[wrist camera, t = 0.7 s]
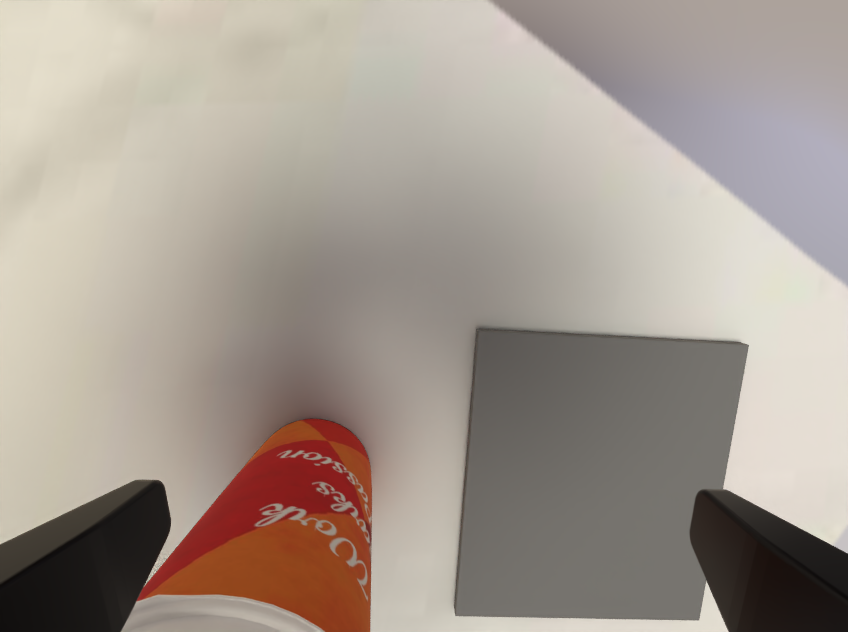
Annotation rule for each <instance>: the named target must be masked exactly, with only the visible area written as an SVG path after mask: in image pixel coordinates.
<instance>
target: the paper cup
mask: <svg viewBox="0 0 848 632" xmlns="http://www.w3.org/2000/svg"><path fill="white" fill-rule="evenodd" d="M371 528H372V485H371V468H370V462H369V458H368V455H367V452H366V450H365V448H364V446H363V445H362V443H361V442H360V441H359V439H358V438H357V437H356V436H355V435H354V434H353V433H352V432H351V431H349V430H348V429H346V428H345V427H343V426H341V425H339V424H337V423H334V422H331V421H328V420H323V419H304V420H299V421H296V422H293V423H290V424H288V425H286V426H284V427H283V428H281V429H279V430H278V431H277V432H275V433H274V434H273V435H272V436H271V437H270V438H269V439H268V440H267V441H266V442H265V443H264V444H263V445H262V446H261V448H260V449H259V450H258V451H257V452H256V453H255V454H254V455H253V457H252V458H251V459H250V460H249V461H248V463H247V464H246V465H245V466H244V467H243V468H242V470H241V471H240V472H239V473H238V474H237V475H236V477H235V478H234V479H233V480H232V481H231V483H230V484H229V485H228V486H227V487H226V489H225V490H224V491H223V492H222V493H221V495H220V496H219V497H218V498H217V499H216V501H215V502H214V503H213V504H212V505H211V507H210V508H209V509H208V510H207V511H206V513H205V514H204V515H203V516H202V518H201V519H200V520H199V521H198V522H197V524H196V525H195V526H194V527H193V528H192V530H191V531H190V532H189V533H188V534H187V536H186V537H185V538H184V539H183V540H182V542H181V543H180V544H179V545H178V547H177V548H176V549H175V550H174V551H173V553H172V554H171V555H170V556H169V557H168V559H167V560H166V561H165V562H164V563H163V565H162V566H161V567H160V568H159V569H158V571H157V572H156V573H155V574H154V576H153V577H152V578H151V579H150V580H149V582H148V583H147V584H146V585H145V586H144V588H143V589H142V591H141V593H140V595H139V597H138V599H137V601H136V604H135V606H134V608H133V610H132V612H131V614H130V616H129V618H128V619H127V621H126V623H125V625H124V627H123V629H122V631H121V632H370V605H371Z"/></svg>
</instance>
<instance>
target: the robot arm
mask: <svg viewBox="0 0 848 632" xmlns="http://www.w3.org/2000/svg"><path fill="white" fill-rule="evenodd" d="M170 527H171V517H170V512H169V507H168V501H167V496H166V491H165V487H164V485H163V483H162V482H161V481H159V480H135V481H132V482H130V483H128V484H126V485H124V486H122V487H120V488H118V489H116V490H113V491H111V492H109V493H107V494H105V495H103V496H101V497H99V498H97V499H95V500H93V501H90V502H88V503H86V504H84V505H82V506H80V507H78V508H76V509H74V510H72V511H69V512H67V513H65V514H63V515H61V516H59V517H57V518H55V519H53V520H51V521H49V522H46V523H44V524H42V525H40V526H38V527H36V528H34V529H32V530H30V531H28V532H25V533H23V534H21V535H19V536H17V537H15V538H13V539H11V540H9V541H7V542H5V543H2V544H0V632H121V631H122V629H123V627H124V625H125V623H126V621H127V619H128V618H129V616H130V614H131V612H132V610H133V608H134V606H135V604H136V601H137V599H138V597H139V595H140V593H141V591H142V589H143V587H144V585H145V583H146V581H147V579H148V577H149V575H150V572H151V570H152V568H153V566H154V564H155V562H156V560H157V558H158V556H159V554H160V552H161V550H162V548H163V545H164V543H165V541H166V539H167V537H168V535H169V532H170ZM689 534H690V541H691V545H692V548H693V550H694V553H695V555H696V557H697V560H698V562H699V564H700V567H701V569H702V571H703V573H704V576H705V578H706V580H707V583H708V585H709V587H710V590H711V592H712V594H713V597H714V599H715V601H716V604H717V606H718V608H719V611H720V613H721V615H722V618H723V620H724V622H725V625H726V627H727V629H728V631H729V632H848V554H847V553H845V552H844V551H842V550H840V549H838V548H836V547H834V546H832V545H830V544H829V543H827V542H825V541H823V540H821V539H819V538H817V537H815V536H813V535H811V534H810V533H808V532H806V531H804V530H802V529H800V528H798V527H796V526H794V525H793V524H791V523H789V522H787V521H785V520H783V519H781V518H779V517H777V516H775V515H774V514H772V513H770V512H768V511H766V510H764V509H762V508H760V507H758V506H756V505H755V504H753V503H751V502H749V501H747V500H745V499H743V498H741V497H739V496H738V495H736V494H734V493H732V492H730V491H728V490H724V489H702V490H700V491H698V493H697V494H696V497H695V502H694V508H693V513H692V519H691V524H690V531H689Z"/></svg>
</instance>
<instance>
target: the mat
mask: <svg viewBox="0 0 848 632" xmlns="http://www.w3.org/2000/svg"><path fill="white" fill-rule="evenodd" d="M748 347H749V345H747V344H743V343H740V342H723V341H703V340H684V339H664V338H645V337H625V336H606V335H586V334H567V333H547V332H528V331H508V330H489V329H477V334H476V347H475V359H474V371H473V383H472V396H471V408H470V420H469V433H468V445H467V457H466V470H465V482H464V494H463V507H462V519H461V531H460V544H459V556H458V568H457V580H456V593H455V605H454V608H455V615H456V616H484V617H539V618H595V619H650V620H699V618H700V612H701V607H702V601H703V596H704V590H705V584H706V578H705V576H704V573H703V571H702V569H701V567H700V564H699V562H698V560H697V557H696V555H695V553H694V550H693V548H692V545H691V541H690V534H689V531H690V524H691V519H692V513H693V508H694V502H695V497H696V494H697V493H698V491H700V490H702V489H723V485H724V479H725V474H726V468H727V463H728V457H729V452H730V446H731V441H732V435H733V430H734V424H735V419H736V413H737V408H738V402H739V397H740V391H741V385H742V380H743V374H744V369H745V363H746V358H747V352H748Z"/></svg>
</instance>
